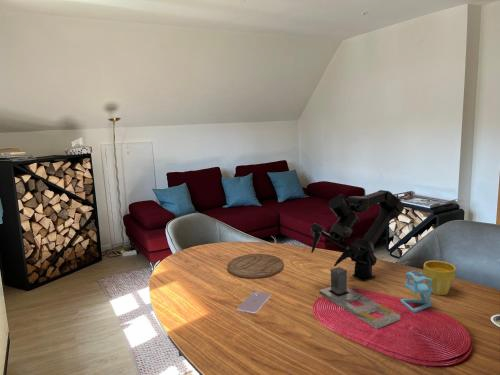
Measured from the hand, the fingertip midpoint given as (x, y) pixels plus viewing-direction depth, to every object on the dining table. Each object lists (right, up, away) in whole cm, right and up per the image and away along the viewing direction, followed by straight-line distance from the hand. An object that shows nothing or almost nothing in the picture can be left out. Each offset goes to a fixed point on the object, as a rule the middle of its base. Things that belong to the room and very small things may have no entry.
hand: (322, 259), depth 136 cm
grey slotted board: (+11, -15, -6) cm, 19 cm away
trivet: (-24, -10, +32) cm, 41 cm away
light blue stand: (+31, -14, -8) cm, 35 cm away
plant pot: (+42, -12, +2) cm, 44 cm away
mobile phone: (-25, -16, +1) cm, 29 cm away
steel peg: (+6, -14, +2) cm, 15 cm away
